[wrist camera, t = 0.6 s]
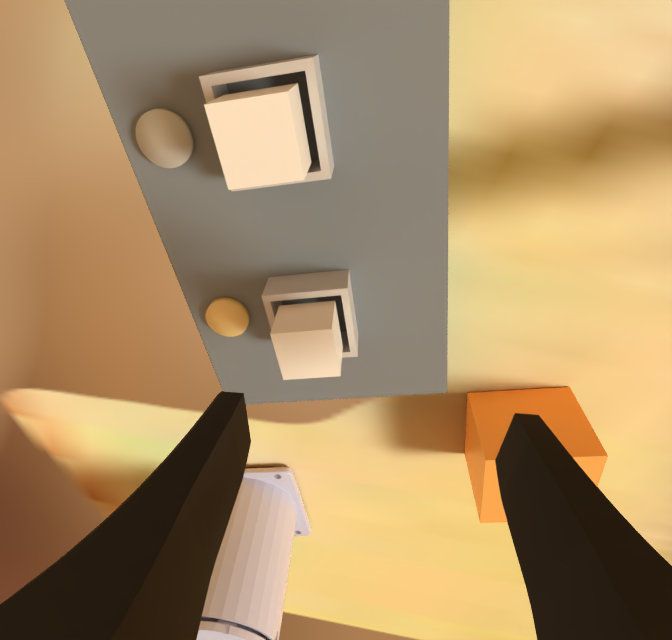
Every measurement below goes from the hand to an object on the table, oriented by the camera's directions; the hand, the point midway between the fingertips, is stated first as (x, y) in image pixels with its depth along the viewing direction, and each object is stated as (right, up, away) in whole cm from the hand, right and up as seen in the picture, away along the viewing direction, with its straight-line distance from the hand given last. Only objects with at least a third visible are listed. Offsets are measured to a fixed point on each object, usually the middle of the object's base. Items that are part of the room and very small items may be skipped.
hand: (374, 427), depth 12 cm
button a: (-2, +3, +7) cm, 8 cm away
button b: (-3, +9, +2) cm, 10 cm away
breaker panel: (-3, +7, +7) cm, 10 cm away
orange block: (+9, -3, +13) cm, 17 cm away
